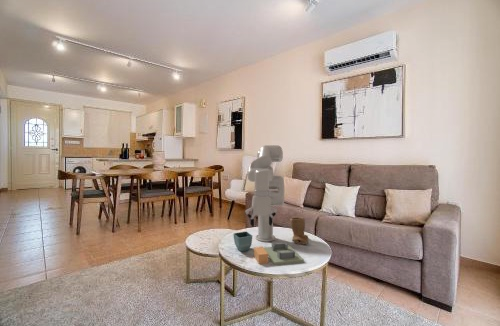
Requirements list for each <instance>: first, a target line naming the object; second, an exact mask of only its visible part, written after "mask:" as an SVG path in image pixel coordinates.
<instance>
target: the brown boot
mask: <svg viewBox="0 0 500 326" xmlns="http://www.w3.org/2000/svg"><path fill="white" fill-rule="evenodd" d="M289 221H290V224H289V225H290V227H291V228H290V229H291V230H292V232H293V233H292V234H293V236H292V240H291V241H292V242H293V243H295V244H297V245H306V244H308V242H309V236H308V235H307V234H305V228H306V222H305V218H304V217H302V216H297V217H295V216H294V217H291V218H290V219H289Z"/></svg>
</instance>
